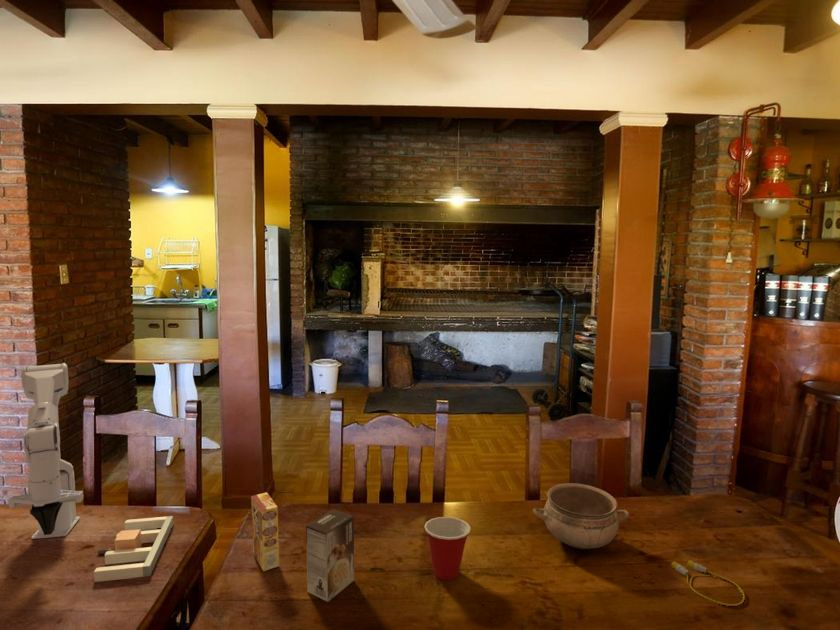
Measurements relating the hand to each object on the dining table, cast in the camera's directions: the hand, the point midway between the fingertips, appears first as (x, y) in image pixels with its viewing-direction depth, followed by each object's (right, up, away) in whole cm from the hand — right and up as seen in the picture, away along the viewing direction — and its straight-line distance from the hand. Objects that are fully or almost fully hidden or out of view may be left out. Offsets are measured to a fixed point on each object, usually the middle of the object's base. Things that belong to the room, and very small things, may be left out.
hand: (49, 532), depth 123 cm
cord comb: (+16, -8, +8) cm, 20 cm away
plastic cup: (+93, -10, +2) cm, 94 cm away
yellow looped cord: (+154, -13, 0) cm, 155 cm away
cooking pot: (+129, -9, +16) cm, 130 cm away
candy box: (+49, -9, +5) cm, 50 cm away
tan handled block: (+12, -8, +7) cm, 16 cm away
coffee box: (+67, -11, -4) cm, 68 cm away
